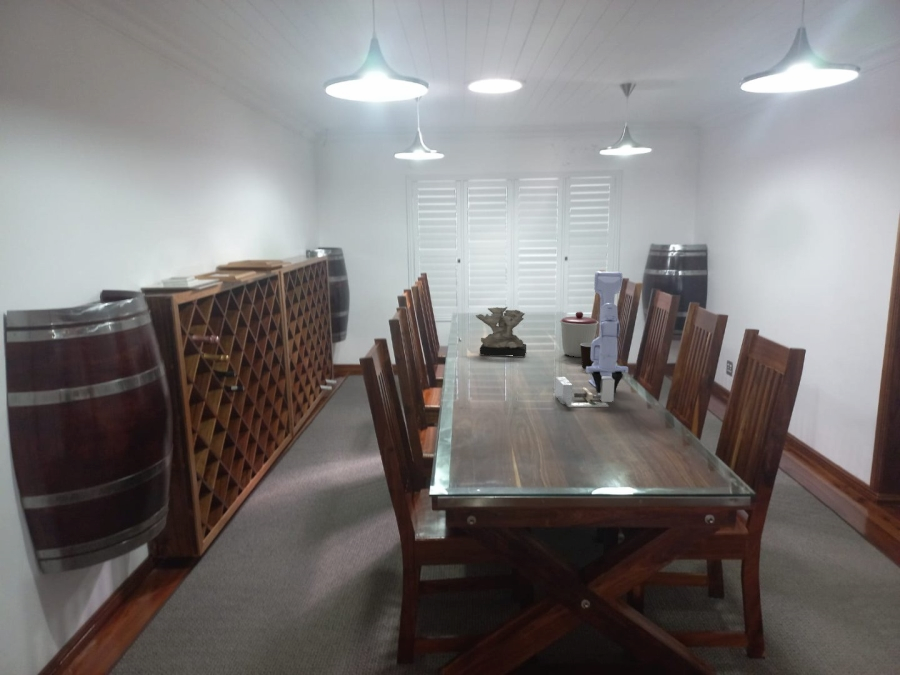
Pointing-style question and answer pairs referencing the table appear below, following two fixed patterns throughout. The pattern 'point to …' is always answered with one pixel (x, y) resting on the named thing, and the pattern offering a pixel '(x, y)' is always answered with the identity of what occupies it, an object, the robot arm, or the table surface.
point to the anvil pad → (585, 395)
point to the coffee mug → (586, 354)
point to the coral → (502, 333)
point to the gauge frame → (565, 394)
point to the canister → (577, 333)
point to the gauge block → (606, 389)
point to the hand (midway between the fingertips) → (605, 392)
